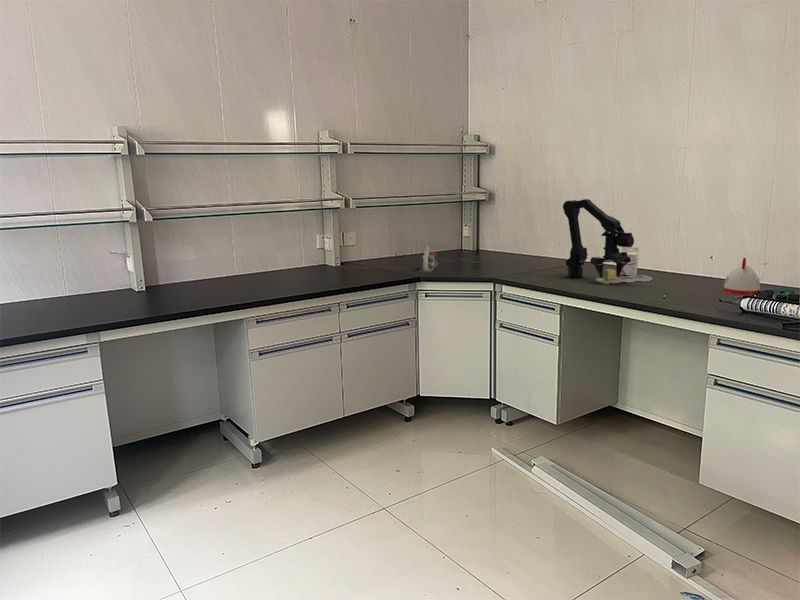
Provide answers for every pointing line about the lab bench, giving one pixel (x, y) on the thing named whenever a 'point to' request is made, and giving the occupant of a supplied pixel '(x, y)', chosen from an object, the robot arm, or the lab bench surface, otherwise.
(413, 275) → the lab bench surface
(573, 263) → the robot arm
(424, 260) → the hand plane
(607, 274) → the brass block
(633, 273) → the ink cartridge box
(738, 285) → the kitchen timer
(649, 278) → the grey compartment frame
